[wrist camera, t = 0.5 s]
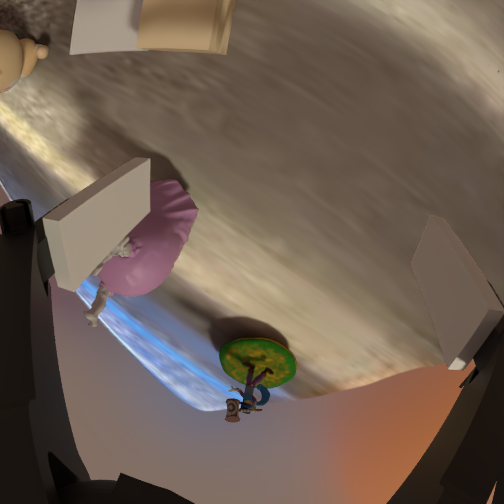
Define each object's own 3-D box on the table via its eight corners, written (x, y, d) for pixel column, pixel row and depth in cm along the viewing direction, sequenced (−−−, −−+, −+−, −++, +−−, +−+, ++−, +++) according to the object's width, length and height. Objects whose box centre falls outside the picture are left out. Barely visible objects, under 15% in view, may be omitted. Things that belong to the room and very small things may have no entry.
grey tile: (88, -21, 27) (81, -23, 25) (163, -33, 26) (158, -36, 25) (76, 54, 33) (69, 54, 32) (148, 50, 32) (143, 50, 31)
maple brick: (173, -7, 28) (147, -19, 22) (237, -6, 28) (221, -22, 22) (163, 50, 32) (135, 48, 26) (226, 54, 32) (208, 50, 26)
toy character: (158, 153, 39) (60, 218, 22) (221, 199, 41) (159, 294, 24) (122, 218, 45) (39, 299, 28) (176, 258, 47) (114, 357, 30)
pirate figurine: (313, 351, 53) (309, 426, 40) (271, 383, 59) (259, 450, 46) (245, 312, 51) (223, 388, 38) (209, 351, 57) (185, 418, 44)
